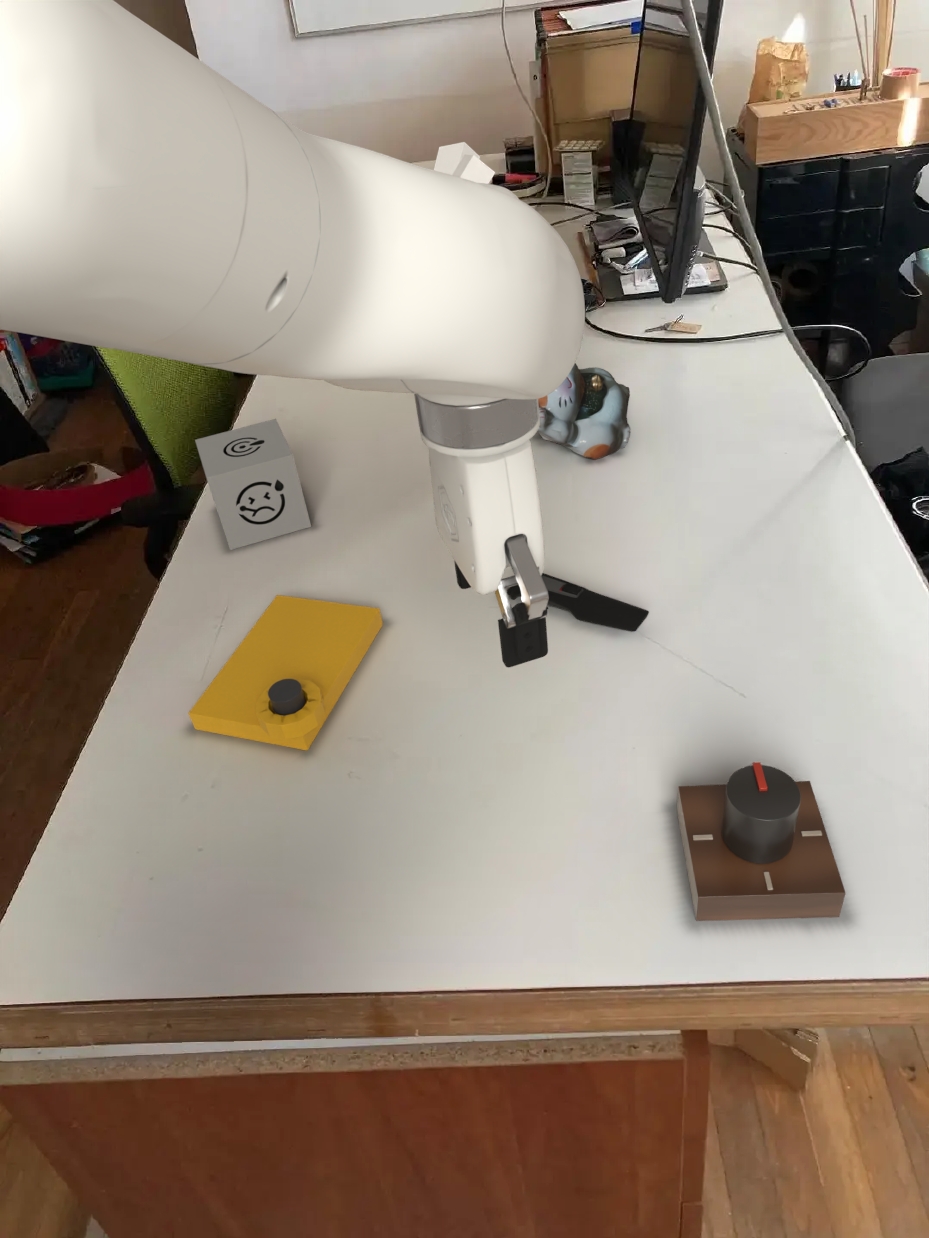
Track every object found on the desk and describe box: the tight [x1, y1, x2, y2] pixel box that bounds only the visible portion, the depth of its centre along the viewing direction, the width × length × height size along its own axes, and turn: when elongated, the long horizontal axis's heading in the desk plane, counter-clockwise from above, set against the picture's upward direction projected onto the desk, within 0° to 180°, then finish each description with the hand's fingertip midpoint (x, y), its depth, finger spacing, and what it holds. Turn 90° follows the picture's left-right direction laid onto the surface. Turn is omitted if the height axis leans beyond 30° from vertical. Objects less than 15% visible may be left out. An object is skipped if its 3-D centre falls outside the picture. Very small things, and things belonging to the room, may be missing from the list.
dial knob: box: [722, 761, 801, 864], centre depth 67 cm, size 5×5×5 cm
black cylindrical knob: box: [268, 679, 305, 716], centre depth 83 cm, size 3×3×2 cm
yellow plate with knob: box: [188, 594, 384, 751], centre depth 90 cm, size 19×13×4 cm
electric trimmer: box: [506, 572, 650, 632], centre depth 94 cm, size 4×16×3 cm, turn 55°
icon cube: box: [194, 418, 312, 551], centre depth 112 cm, size 10×10×10 cm
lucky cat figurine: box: [536, 362, 632, 460], centre depth 118 cm, size 15×12×14 cm
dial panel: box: [676, 780, 846, 922], centre depth 69 cm, size 10×10×3 cm
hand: (500, 619), depth 68 cm, fingers open, 9 cm apart
